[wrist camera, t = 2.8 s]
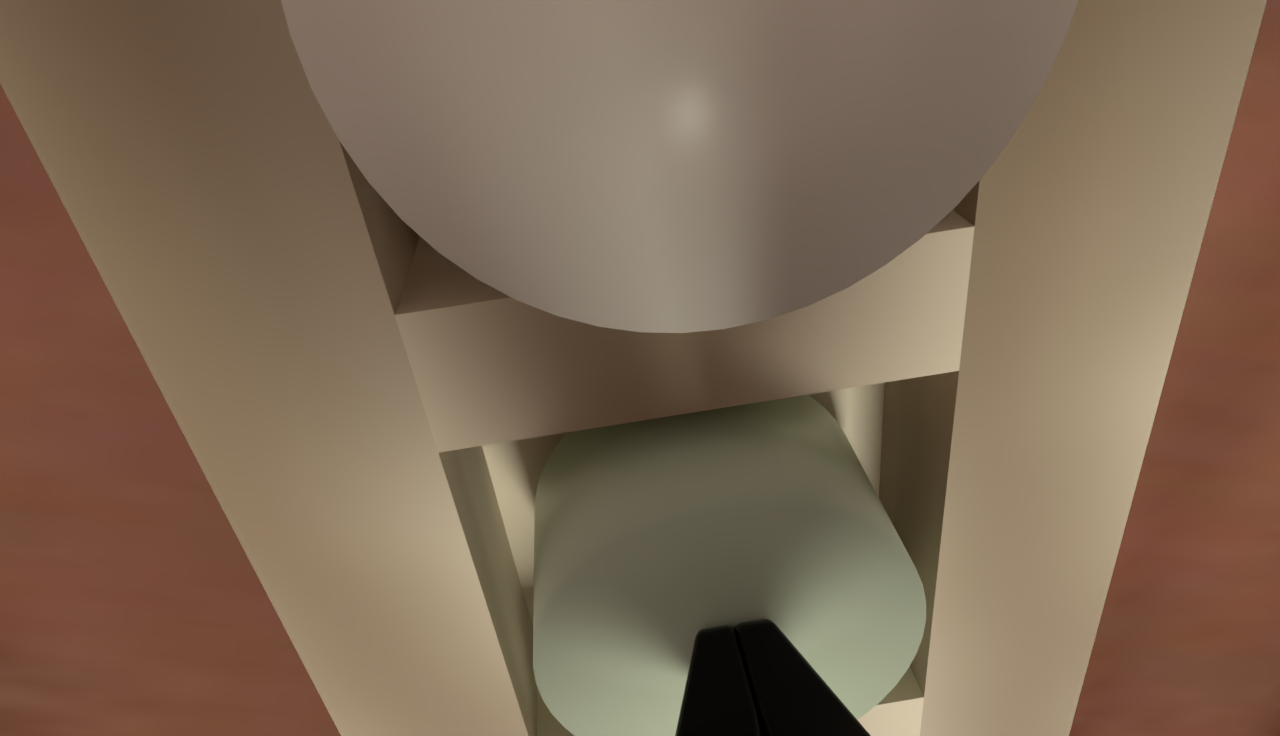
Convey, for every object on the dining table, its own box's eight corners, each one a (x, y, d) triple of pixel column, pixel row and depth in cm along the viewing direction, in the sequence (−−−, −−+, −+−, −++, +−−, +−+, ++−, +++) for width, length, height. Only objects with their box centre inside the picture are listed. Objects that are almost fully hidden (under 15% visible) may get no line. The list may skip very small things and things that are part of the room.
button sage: (860, 344, 10) (941, 467, 8) (852, 592, 12) (914, 737, 10) (503, 400, 10) (493, 538, 8) (564, 640, 12) (568, 794, 10)
